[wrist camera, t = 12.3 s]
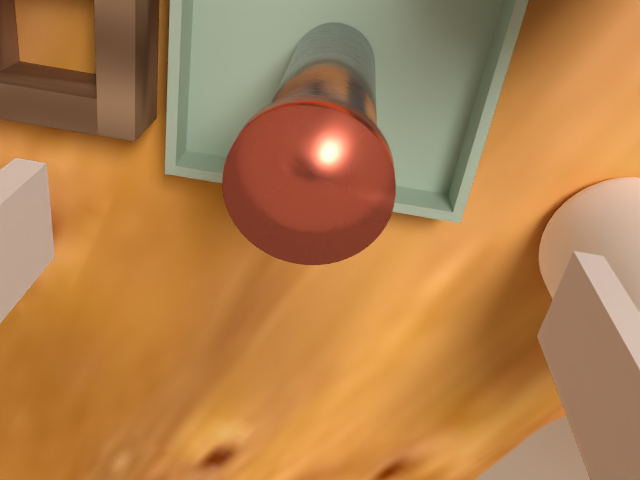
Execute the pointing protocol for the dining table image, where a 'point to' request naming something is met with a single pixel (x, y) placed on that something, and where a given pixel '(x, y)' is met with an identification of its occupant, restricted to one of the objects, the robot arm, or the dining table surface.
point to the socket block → (88, 75)
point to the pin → (315, 156)
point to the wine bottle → (596, 233)
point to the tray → (390, 70)
